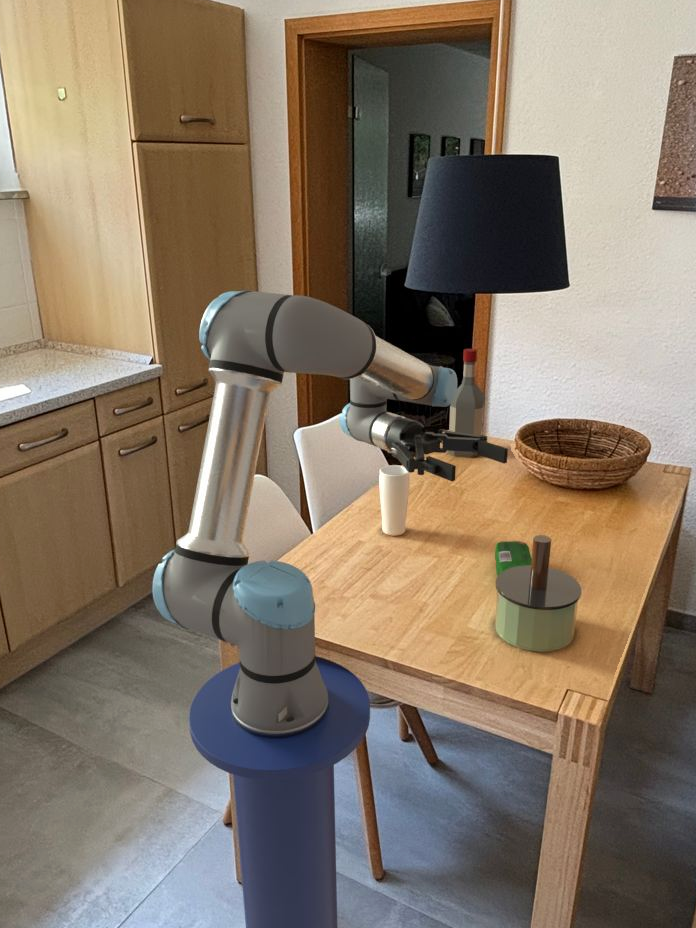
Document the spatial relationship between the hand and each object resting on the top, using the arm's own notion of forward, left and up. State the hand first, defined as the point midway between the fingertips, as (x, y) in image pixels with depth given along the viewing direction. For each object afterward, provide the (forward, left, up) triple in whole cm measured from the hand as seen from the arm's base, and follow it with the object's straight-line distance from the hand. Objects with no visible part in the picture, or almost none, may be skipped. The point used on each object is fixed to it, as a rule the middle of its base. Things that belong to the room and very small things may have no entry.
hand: (480, 464), depth 137 cm
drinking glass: (-26, +21, -28) cm, 44 cm away
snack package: (+4, +13, -28) cm, 31 cm away
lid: (+13, -5, -19) cm, 24 cm away
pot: (+13, -5, -28) cm, 31 cm away
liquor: (-29, +79, -28) cm, 89 cm away
